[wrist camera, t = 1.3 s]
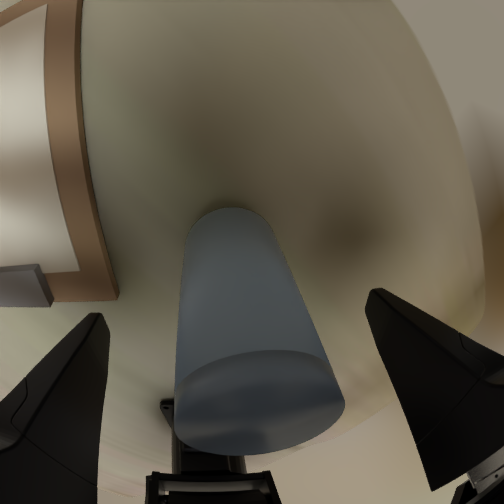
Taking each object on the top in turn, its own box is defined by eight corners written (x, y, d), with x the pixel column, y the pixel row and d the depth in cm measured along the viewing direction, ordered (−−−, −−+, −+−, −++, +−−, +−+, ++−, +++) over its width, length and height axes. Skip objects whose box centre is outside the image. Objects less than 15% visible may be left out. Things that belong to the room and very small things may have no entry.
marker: (268, 264, 15) (326, 441, 7) (191, 270, 14) (191, 459, 6) (269, 192, 13) (365, 366, 5) (183, 197, 12) (153, 392, 4)
